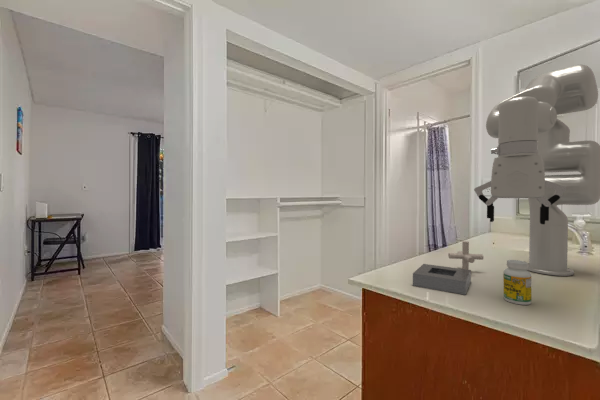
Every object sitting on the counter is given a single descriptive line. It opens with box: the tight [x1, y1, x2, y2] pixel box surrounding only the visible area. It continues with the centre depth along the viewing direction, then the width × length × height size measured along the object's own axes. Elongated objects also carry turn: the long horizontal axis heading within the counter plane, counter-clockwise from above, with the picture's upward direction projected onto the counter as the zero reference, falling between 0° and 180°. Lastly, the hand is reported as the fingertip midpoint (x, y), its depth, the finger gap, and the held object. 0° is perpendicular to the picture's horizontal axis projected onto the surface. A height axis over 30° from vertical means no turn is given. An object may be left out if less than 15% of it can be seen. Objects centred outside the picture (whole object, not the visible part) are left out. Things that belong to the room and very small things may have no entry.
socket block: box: [412, 263, 472, 296], centre depth 81 cm, size 13×13×4 cm
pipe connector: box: [448, 240, 484, 270], centre depth 94 cm, size 10×10×10 cm
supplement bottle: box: [503, 259, 533, 306], centre depth 68 cm, size 5×5×10 cm
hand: (516, 222), depth 68 cm, fingers open, 9 cm apart
